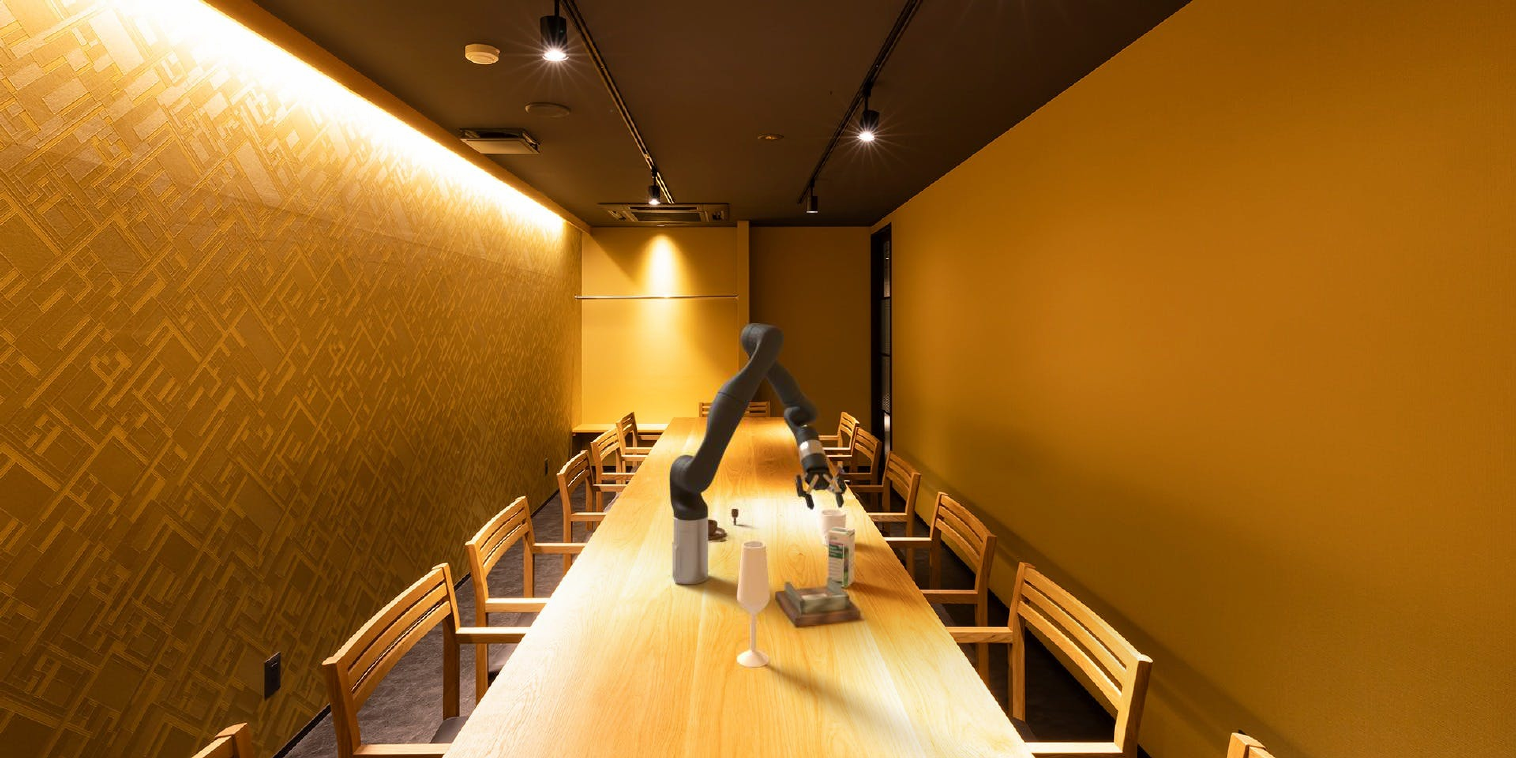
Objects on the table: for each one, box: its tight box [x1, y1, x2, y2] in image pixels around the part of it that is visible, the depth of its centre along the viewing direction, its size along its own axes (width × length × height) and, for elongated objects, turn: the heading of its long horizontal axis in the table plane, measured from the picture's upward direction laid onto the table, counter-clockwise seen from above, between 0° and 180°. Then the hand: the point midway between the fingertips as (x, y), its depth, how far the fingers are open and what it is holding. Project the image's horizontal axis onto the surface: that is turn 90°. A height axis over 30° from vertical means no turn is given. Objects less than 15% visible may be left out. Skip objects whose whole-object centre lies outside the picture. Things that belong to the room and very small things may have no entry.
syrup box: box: [826, 527, 856, 589], centre depth 179 cm, size 6×6×14 cm
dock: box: [774, 578, 862, 628], centre depth 163 cm, size 16×16×5 cm
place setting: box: [708, 508, 739, 544], centre depth 222 cm, size 18×20×6 cm
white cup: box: [820, 508, 847, 547], centre depth 212 cm, size 8×8×10 cm
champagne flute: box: [736, 540, 771, 668], centre depth 137 cm, size 7×7×24 cm
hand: (826, 507), depth 189 cm, fingers open, 8 cm apart
